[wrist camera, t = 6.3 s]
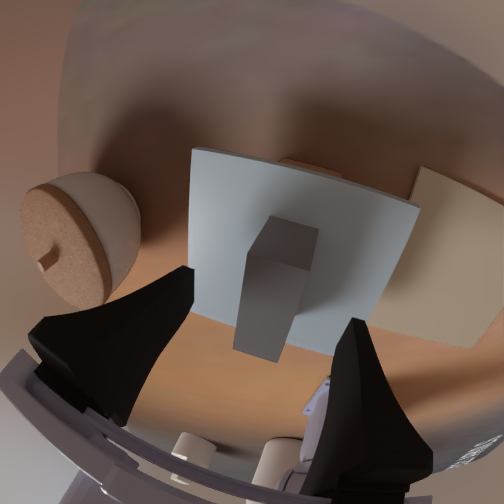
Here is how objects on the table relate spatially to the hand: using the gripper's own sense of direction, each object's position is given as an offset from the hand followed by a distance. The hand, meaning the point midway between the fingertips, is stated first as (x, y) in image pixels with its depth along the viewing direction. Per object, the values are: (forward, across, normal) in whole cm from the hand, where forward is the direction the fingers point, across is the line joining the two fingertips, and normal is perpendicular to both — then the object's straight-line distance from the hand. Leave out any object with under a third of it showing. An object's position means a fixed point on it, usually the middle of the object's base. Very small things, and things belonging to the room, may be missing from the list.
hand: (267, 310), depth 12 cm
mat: (+8, -13, 0) cm, 15 cm away
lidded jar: (+8, +16, +3) cm, 18 cm away
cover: (+4, 0, 0) cm, 4 cm away
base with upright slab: (+9, +8, +59) cm, 60 cm away
